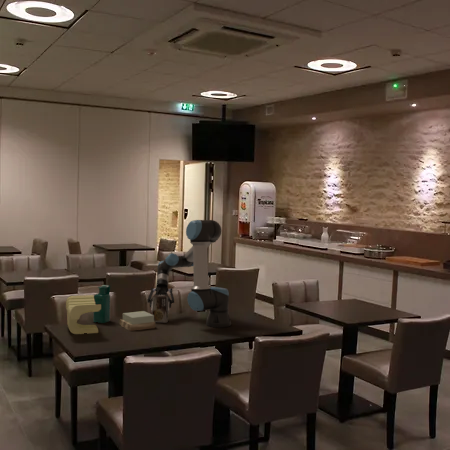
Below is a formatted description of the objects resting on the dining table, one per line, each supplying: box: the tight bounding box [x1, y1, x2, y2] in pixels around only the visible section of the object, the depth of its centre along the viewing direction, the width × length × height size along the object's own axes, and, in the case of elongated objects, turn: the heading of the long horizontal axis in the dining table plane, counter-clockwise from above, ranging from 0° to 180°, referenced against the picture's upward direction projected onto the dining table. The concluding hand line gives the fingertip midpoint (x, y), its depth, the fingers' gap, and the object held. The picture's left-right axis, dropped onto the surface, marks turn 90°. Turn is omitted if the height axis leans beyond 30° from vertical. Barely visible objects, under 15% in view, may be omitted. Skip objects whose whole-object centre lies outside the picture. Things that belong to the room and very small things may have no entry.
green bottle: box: [92, 284, 111, 324], centre depth 339 cm, size 10×8×22 cm
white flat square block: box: [122, 310, 154, 325], centre depth 328 cm, size 14×14×4 cm
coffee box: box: [152, 294, 169, 324], centre depth 343 cm, size 9×6×16 cm
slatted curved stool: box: [65, 294, 101, 335], centre depth 314 cm, size 30×16×18 cm, turn 21°
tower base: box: [119, 318, 156, 332], centre depth 328 cm, size 16×16×4 cm
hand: (160, 311), depth 340 cm, fingers closed on coffee box, 9 cm apart
